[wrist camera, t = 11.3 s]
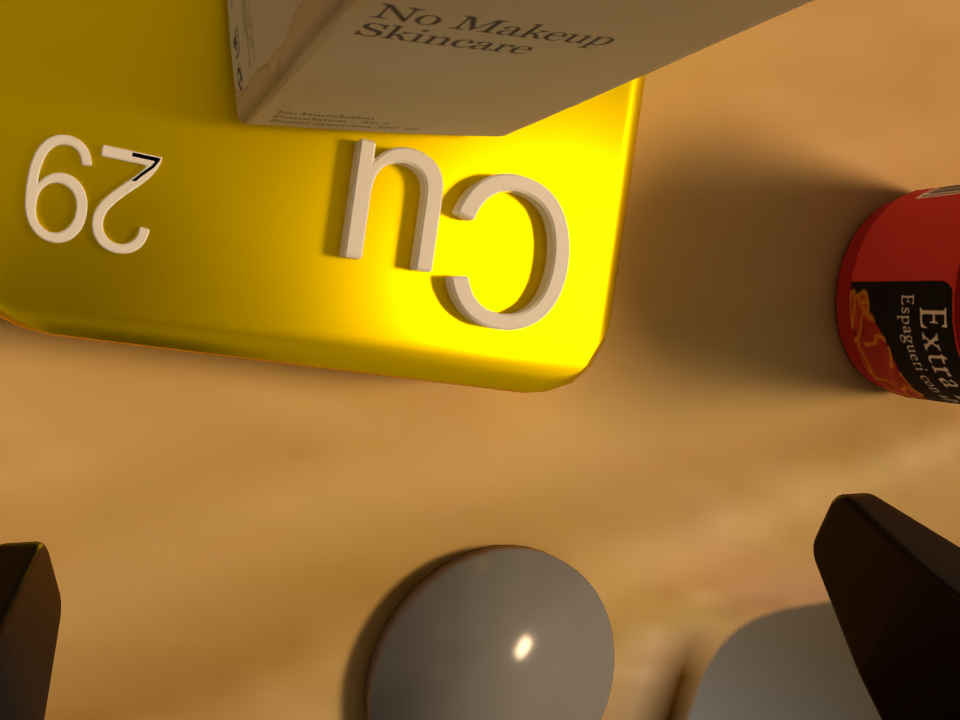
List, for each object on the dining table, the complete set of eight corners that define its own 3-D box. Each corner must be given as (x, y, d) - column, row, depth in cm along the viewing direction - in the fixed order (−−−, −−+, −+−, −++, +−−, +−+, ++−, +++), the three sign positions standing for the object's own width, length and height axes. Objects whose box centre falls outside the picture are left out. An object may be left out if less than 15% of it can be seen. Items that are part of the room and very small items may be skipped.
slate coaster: (506, 848, 26) (515, 860, 25) (306, 733, 23) (312, 744, 22) (645, 627, 27) (656, 634, 27) (477, 493, 24) (486, 498, 24)
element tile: (595, -102, 25) (700, -184, 21) (524, 386, 25) (614, 405, 21) (40, -346, 19) (26, -539, 14) (-50, 314, 19) (-91, 320, 14)
